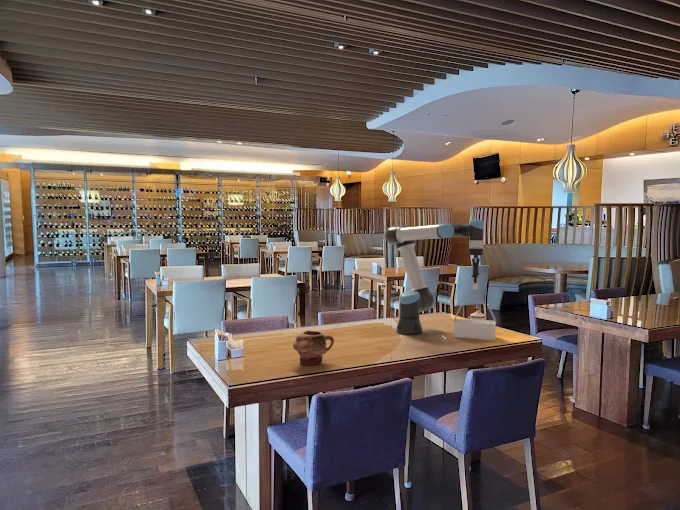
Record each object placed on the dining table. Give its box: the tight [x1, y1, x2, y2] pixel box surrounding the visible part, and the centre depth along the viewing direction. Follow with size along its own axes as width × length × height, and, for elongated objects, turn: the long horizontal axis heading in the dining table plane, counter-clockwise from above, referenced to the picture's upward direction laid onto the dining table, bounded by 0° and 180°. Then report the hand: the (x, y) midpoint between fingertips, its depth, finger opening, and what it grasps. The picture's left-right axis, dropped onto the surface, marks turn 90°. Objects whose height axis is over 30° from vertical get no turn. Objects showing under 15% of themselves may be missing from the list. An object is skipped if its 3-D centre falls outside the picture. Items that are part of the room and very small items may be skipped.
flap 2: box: [487, 303, 497, 324], centre depth 264 cm, size 10×9×1 cm
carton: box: [453, 318, 497, 341], centre depth 267 cm, size 22×9×9 cm, turn 73°
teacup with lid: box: [466, 310, 487, 320], centre depth 287 cm, size 12×9×12 cm
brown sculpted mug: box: [292, 330, 335, 366], centre depth 220 cm, size 20×12×14 cm, turn 121°
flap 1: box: [453, 302, 464, 322], centre depth 269 cm, size 10×9×1 cm
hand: (475, 287), depth 266 cm, fingers open, 10 cm apart
